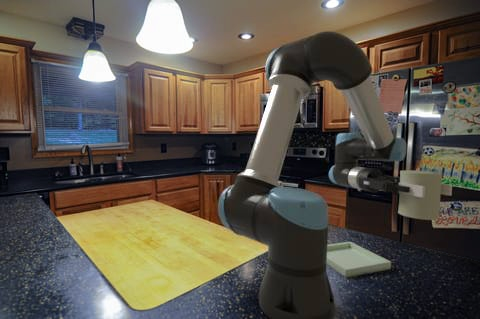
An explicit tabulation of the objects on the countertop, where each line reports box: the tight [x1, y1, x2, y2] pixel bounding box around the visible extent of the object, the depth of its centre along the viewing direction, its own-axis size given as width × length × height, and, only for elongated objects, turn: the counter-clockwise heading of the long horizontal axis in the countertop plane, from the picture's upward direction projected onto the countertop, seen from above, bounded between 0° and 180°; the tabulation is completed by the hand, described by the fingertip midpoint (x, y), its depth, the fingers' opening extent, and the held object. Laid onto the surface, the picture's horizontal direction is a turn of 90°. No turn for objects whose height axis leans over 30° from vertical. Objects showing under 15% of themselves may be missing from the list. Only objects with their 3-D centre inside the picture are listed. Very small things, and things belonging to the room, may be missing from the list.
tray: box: [326, 241, 392, 278], centre depth 73 cm, size 15×15×2 cm
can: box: [397, 169, 443, 221], centre depth 68 cm, size 9×9×12 cm
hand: (437, 191), depth 63 cm, fingers closed on can, 9 cm apart
